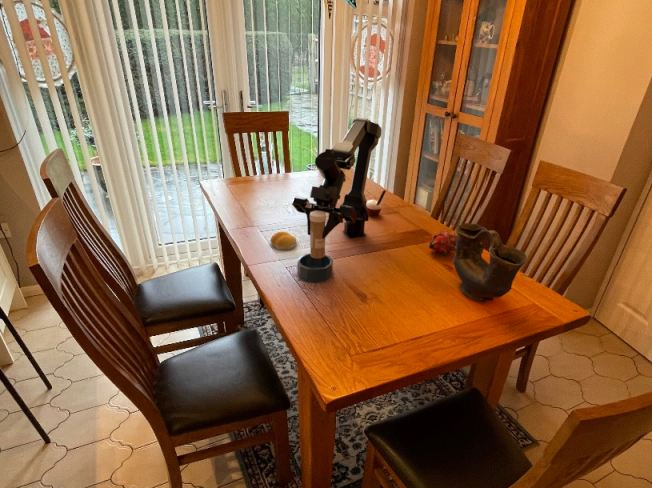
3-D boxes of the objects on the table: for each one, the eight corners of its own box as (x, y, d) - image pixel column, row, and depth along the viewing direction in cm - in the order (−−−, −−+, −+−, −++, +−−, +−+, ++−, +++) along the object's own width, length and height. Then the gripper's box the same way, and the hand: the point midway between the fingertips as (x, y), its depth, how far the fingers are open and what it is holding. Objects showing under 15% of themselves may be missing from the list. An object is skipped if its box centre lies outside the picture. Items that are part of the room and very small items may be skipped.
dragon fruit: (457, 254, 150) (429, 265, 146) (446, 234, 152) (418, 244, 148) (468, 243, 142) (439, 254, 138) (456, 222, 144) (427, 232, 140)
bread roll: (281, 252, 141) (281, 241, 139) (267, 242, 146) (266, 232, 144) (302, 246, 146) (301, 235, 143) (287, 237, 151) (287, 226, 149)
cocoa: (362, 211, 176) (363, 183, 169) (376, 210, 177) (378, 182, 171) (370, 220, 168) (372, 191, 162) (384, 219, 170) (387, 190, 164)
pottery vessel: (438, 274, 133) (448, 215, 123) (466, 269, 137) (479, 211, 127) (488, 319, 114) (506, 253, 104) (520, 311, 118) (540, 247, 107)
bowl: (324, 263, 136) (324, 251, 133) (337, 279, 128) (338, 266, 126) (293, 268, 132) (293, 256, 129) (304, 285, 124) (304, 271, 122)
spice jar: (322, 260, 124) (322, 217, 117) (307, 257, 125) (307, 214, 118) (327, 253, 128) (328, 211, 121) (313, 250, 129) (313, 209, 122)
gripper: (293, 168, 120) (276, 219, 117) (355, 178, 115) (339, 231, 112) (306, 187, 130) (290, 234, 127) (363, 197, 125) (348, 246, 122)
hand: (315, 236), depth 122 cm, fingers closed on spice jar, 4 cm apart
